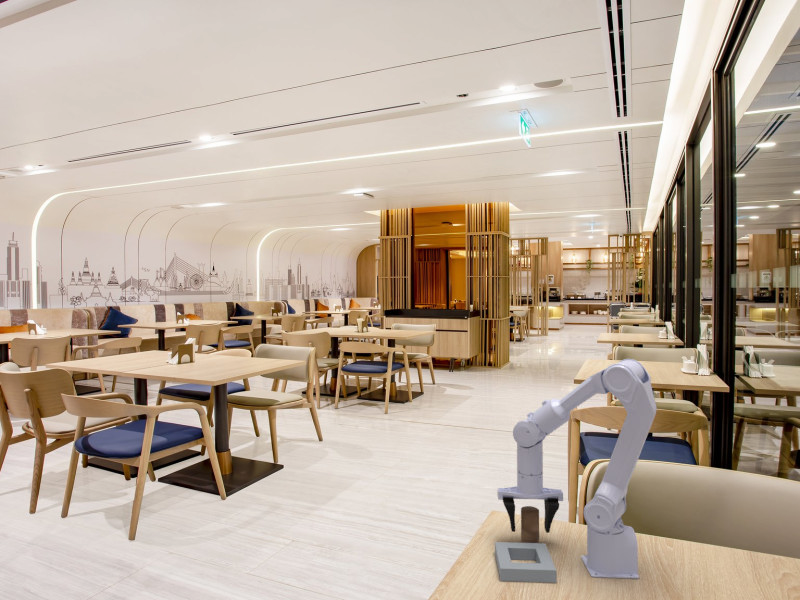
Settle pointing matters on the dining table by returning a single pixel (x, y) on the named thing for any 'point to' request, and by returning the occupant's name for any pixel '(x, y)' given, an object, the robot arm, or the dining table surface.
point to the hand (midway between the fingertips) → (530, 530)
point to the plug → (529, 524)
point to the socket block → (524, 571)
